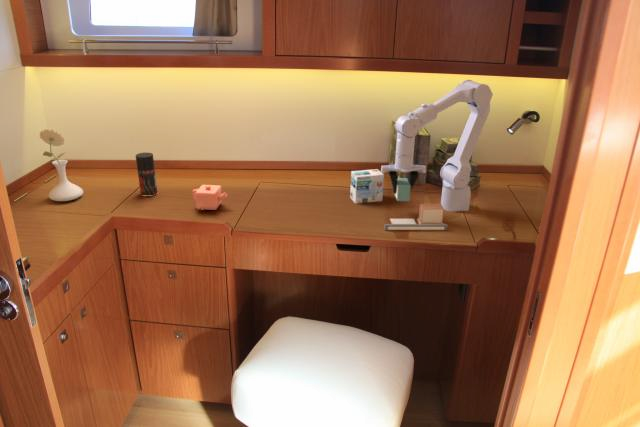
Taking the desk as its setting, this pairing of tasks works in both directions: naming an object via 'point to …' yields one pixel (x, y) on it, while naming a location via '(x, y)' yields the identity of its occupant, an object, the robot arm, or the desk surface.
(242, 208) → the desk surface
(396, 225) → the shelf board
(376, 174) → the light bulb box
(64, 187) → the flower in vase
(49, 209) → the desk surface
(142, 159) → the deodorant
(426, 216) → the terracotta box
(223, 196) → the pink cube teapot
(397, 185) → the teal box
